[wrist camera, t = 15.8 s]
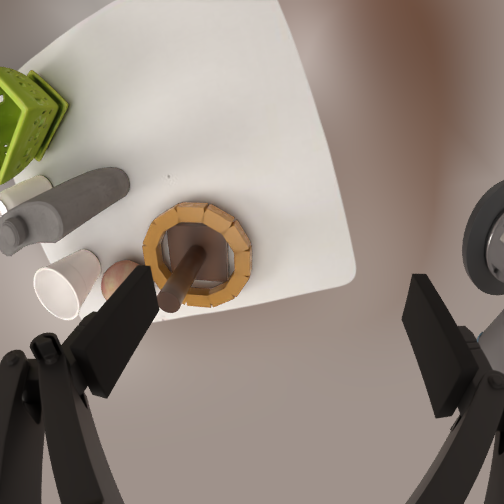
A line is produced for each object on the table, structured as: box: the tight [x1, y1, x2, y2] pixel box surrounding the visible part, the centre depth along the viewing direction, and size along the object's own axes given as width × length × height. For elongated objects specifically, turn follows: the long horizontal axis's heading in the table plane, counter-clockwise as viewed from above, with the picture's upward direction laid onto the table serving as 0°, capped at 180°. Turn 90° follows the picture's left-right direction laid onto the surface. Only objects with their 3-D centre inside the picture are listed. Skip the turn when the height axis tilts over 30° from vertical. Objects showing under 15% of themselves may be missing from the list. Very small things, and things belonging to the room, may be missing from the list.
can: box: [0, 175, 53, 217], centre depth 44 cm, size 6×6×12 cm
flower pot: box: [0, 67, 69, 185], centre depth 37 cm, size 14×14×13 cm
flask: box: [0, 167, 130, 256], centre depth 39 cm, size 15×6×20 cm, turn 104°
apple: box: [101, 260, 139, 300], centre depth 50 cm, size 8×8×8 cm
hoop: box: [142, 202, 252, 308], centre depth 48 cm, size 16×16×2 cm
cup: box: [34, 249, 101, 320], centre depth 49 cm, size 10×10×11 cm
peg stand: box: [157, 222, 229, 313], centre depth 44 cm, size 9×9×14 cm
